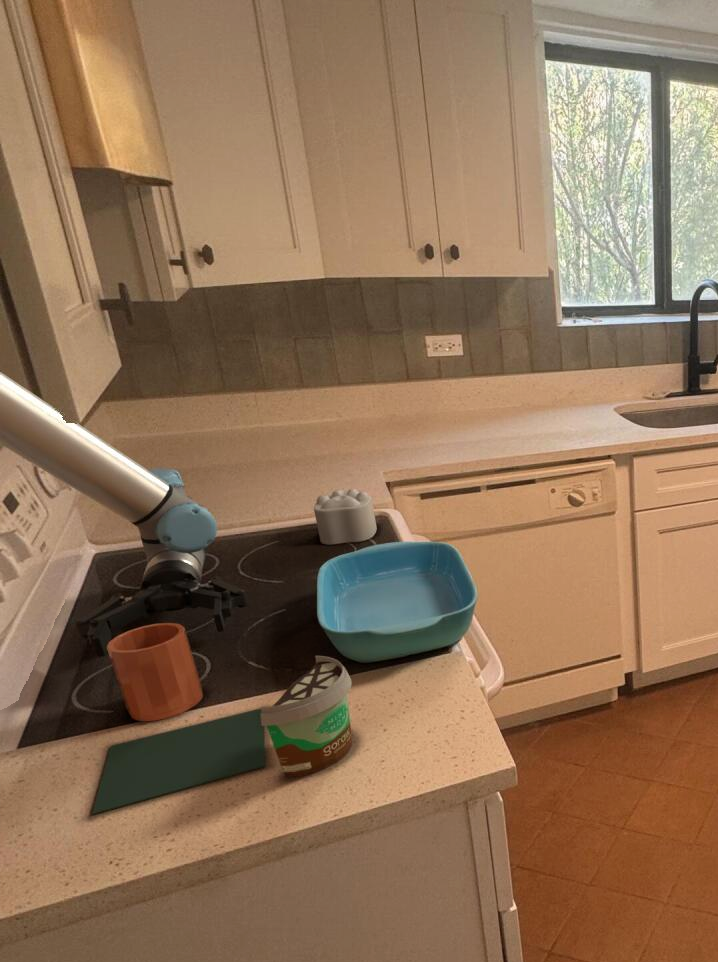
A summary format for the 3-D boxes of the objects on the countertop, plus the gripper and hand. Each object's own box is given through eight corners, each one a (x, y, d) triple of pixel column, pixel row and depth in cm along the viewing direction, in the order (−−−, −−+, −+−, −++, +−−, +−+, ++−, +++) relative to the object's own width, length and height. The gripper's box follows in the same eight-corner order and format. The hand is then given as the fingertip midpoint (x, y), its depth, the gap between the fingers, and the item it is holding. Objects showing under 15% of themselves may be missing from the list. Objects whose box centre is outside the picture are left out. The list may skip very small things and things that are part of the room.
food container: (331, 786, 88) (313, 710, 84) (277, 785, 88) (257, 709, 85) (381, 722, 100) (367, 653, 96) (333, 722, 100) (317, 653, 96)
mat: (111, 747, 95) (110, 745, 95) (263, 709, 103) (263, 707, 102) (92, 815, 84) (91, 813, 84) (265, 766, 91) (264, 765, 91)
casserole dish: (494, 652, 116) (489, 609, 114) (327, 690, 107) (316, 643, 104) (456, 567, 147) (451, 531, 144) (323, 590, 137) (315, 552, 135)
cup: (133, 698, 105) (112, 632, 101) (204, 682, 109) (186, 617, 105) (125, 728, 99) (102, 658, 95) (201, 709, 102) (181, 642, 99)
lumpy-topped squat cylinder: (316, 545, 157) (308, 505, 154) (327, 525, 169) (319, 486, 166) (373, 540, 160) (365, 499, 157) (380, 519, 172) (373, 482, 169)
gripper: (267, 585, 132) (270, 636, 115) (80, 620, 120) (53, 683, 103) (257, 544, 129) (258, 590, 112) (65, 576, 117) (34, 633, 100)
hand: (160, 635), depth 108 cm, fingers open, 13 cm apart
